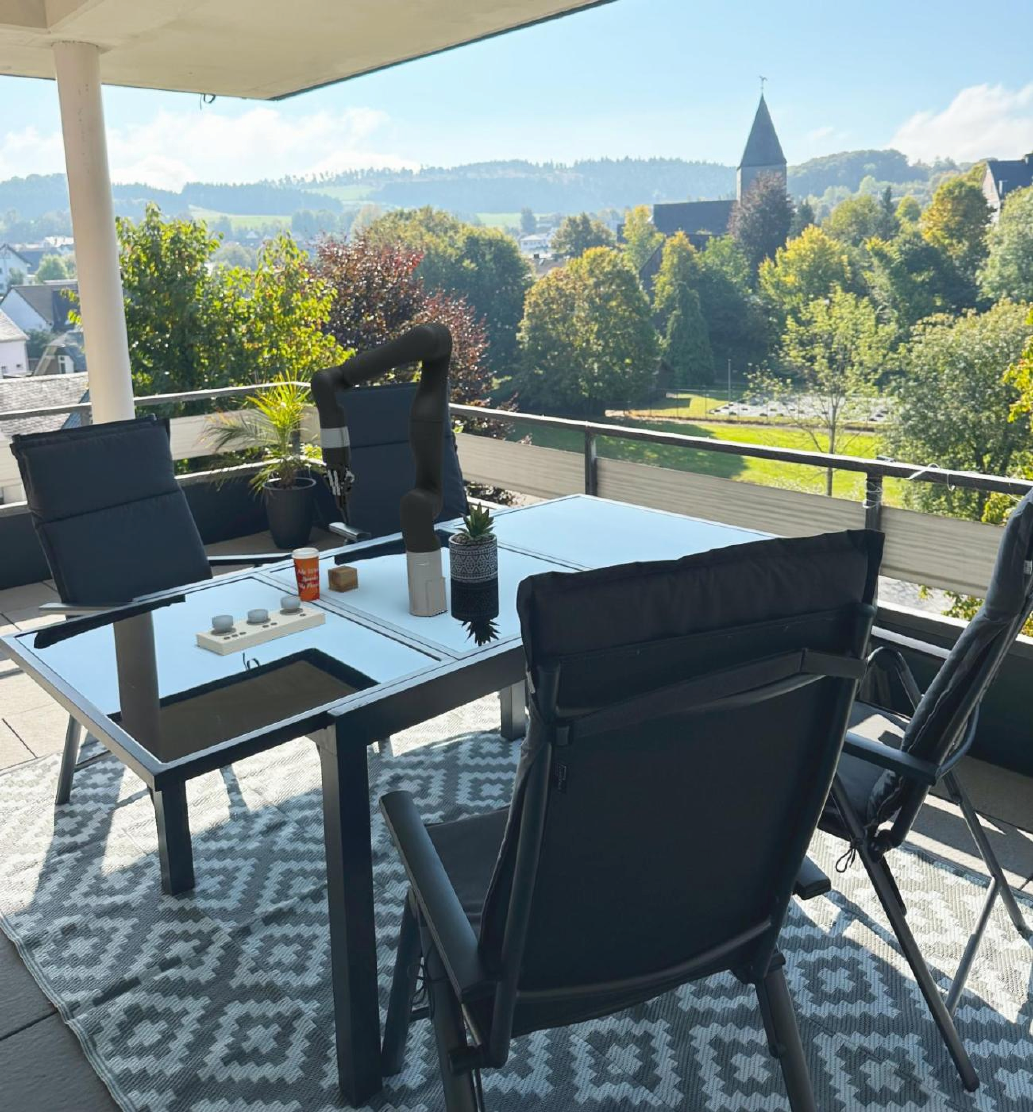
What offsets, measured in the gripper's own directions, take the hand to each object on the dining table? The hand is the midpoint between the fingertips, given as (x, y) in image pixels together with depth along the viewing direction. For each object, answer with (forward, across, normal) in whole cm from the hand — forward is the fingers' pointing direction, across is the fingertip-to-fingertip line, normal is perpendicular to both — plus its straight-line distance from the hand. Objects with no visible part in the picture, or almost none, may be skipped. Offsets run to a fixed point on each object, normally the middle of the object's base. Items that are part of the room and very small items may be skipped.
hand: (341, 508), depth 270 cm
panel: (+27, -2, +30) cm, 40 cm away
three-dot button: (+22, 0, +40) cm, 46 cm away
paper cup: (+27, +14, +4) cm, 30 cm away
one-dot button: (+22, 0, +20) cm, 30 cm away
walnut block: (+27, +13, -8) cm, 31 cm away
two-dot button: (+23, 0, +30) cm, 38 cm away
